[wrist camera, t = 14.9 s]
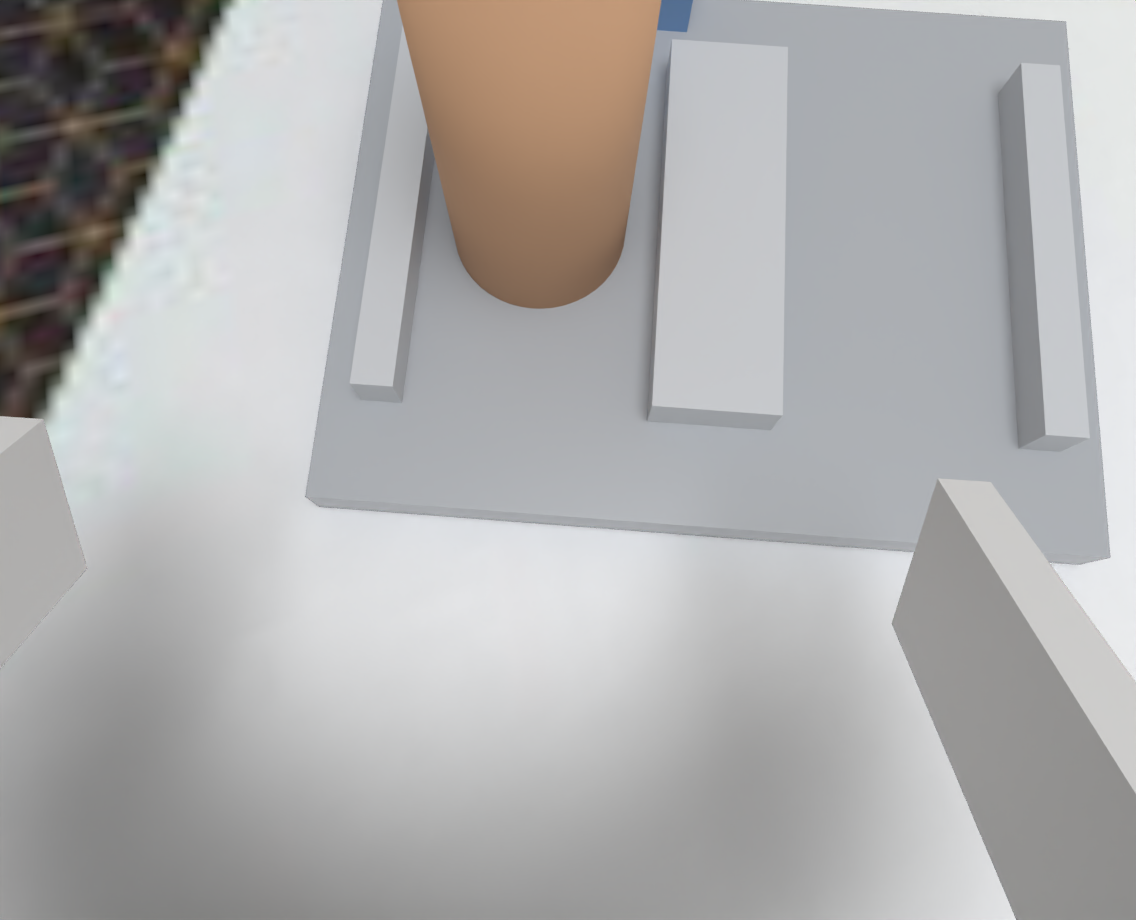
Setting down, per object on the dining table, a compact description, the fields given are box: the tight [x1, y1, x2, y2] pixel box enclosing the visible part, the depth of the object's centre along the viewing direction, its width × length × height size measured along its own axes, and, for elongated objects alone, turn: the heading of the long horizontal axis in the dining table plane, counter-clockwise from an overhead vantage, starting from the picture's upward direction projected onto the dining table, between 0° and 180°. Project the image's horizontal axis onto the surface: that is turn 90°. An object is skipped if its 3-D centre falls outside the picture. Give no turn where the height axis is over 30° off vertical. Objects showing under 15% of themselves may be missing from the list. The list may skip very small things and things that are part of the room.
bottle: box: [397, 0, 661, 309], centre depth 16 cm, size 4×4×13 cm
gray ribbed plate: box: [305, 0, 1110, 564], centre depth 21 cm, size 15×19×5 cm
